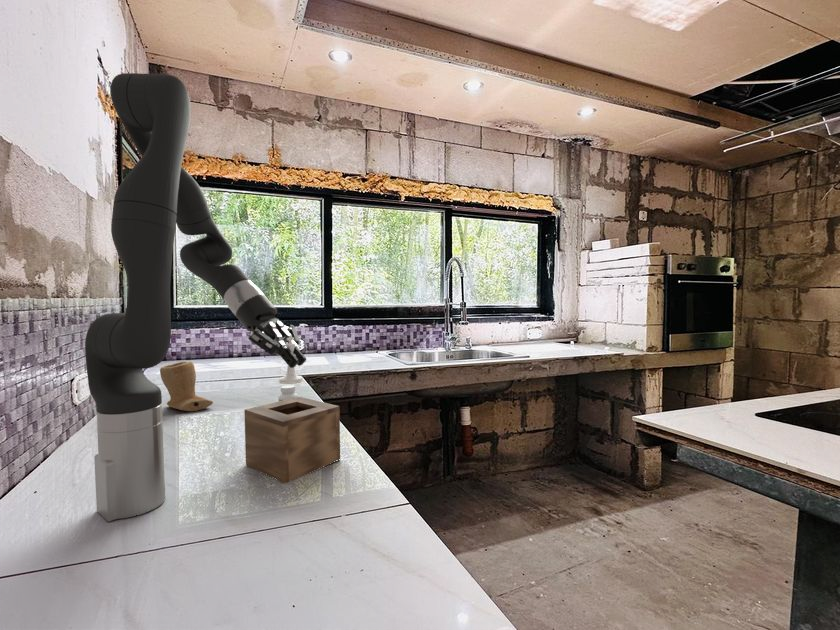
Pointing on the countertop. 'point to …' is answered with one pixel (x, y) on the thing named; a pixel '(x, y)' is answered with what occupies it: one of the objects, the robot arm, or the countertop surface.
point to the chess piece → (291, 375)
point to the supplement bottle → (287, 392)
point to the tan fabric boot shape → (182, 387)
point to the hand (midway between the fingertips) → (299, 363)
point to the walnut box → (292, 437)
